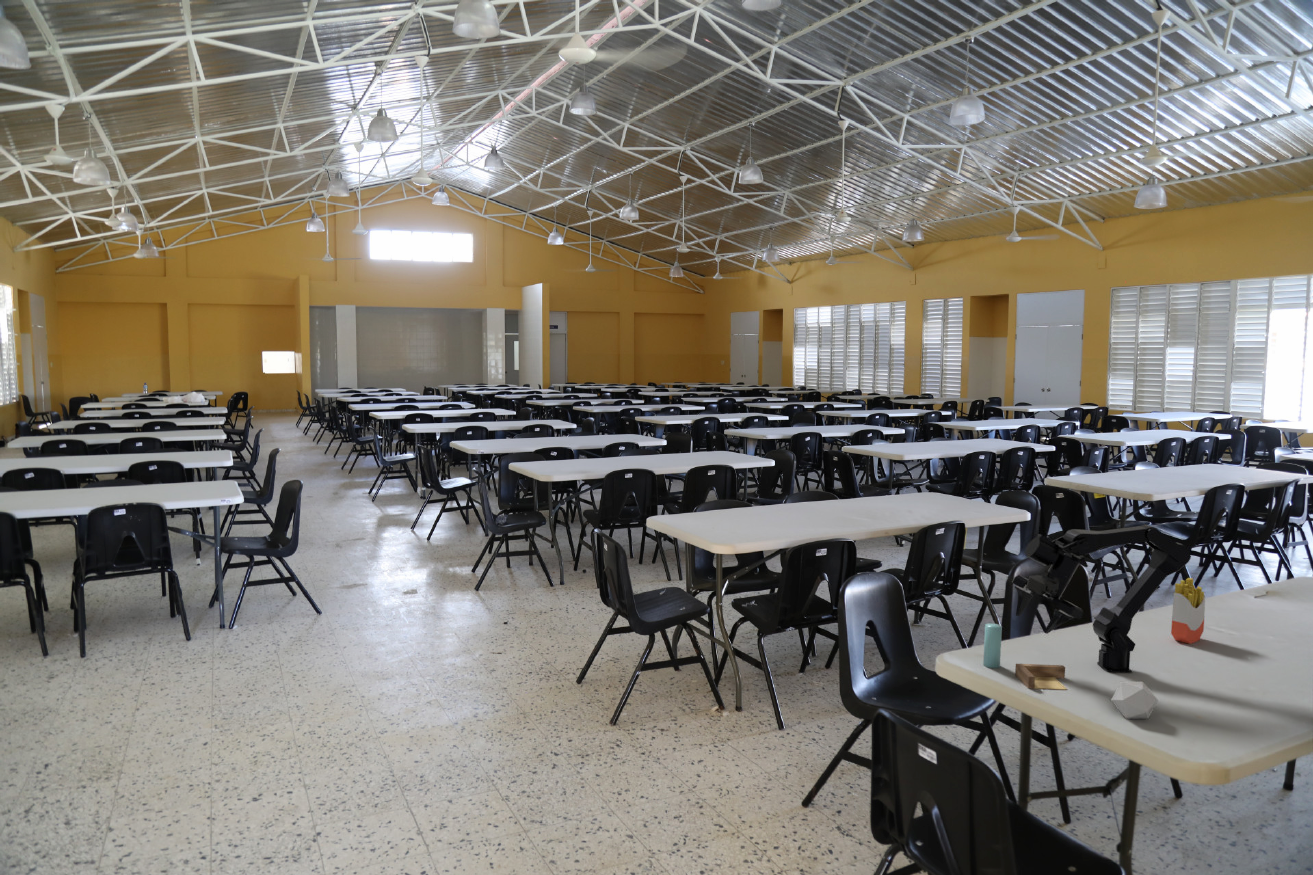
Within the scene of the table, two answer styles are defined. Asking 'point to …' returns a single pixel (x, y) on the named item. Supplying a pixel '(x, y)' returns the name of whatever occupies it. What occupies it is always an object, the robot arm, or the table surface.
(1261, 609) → the table surface
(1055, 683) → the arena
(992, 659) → the cylindrical block
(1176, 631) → the french fries container
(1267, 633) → the table surface
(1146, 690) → the die
